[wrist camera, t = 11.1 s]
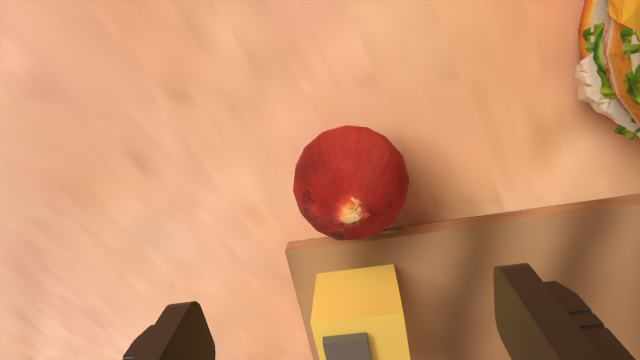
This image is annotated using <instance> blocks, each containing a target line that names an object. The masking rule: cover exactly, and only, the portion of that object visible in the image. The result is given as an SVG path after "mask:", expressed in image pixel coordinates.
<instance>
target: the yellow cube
mask: <svg viewBox="0 0 640 360" xmlns="http://www.w3.org/2000/svg"><path fill="white" fill-rule="evenodd" d="M310 324H311V328H312V332H313V336H314V340H315V344H316V347H317V351H318V355H319V359H320V360H410V354H409V347H408V340H407V334H406V327H405V320H404V313H403V308H402V303H401V298H400V293H399V288H398V283H397V278H396V273H395V268H394V264H390V265H383V266H375V267H367V268H359V269H351V270H343V271H335V272H327V273H319V274H317V275H316V283H315V291H314V298H313V306H312V314H311V322H310Z"/></svg>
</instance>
